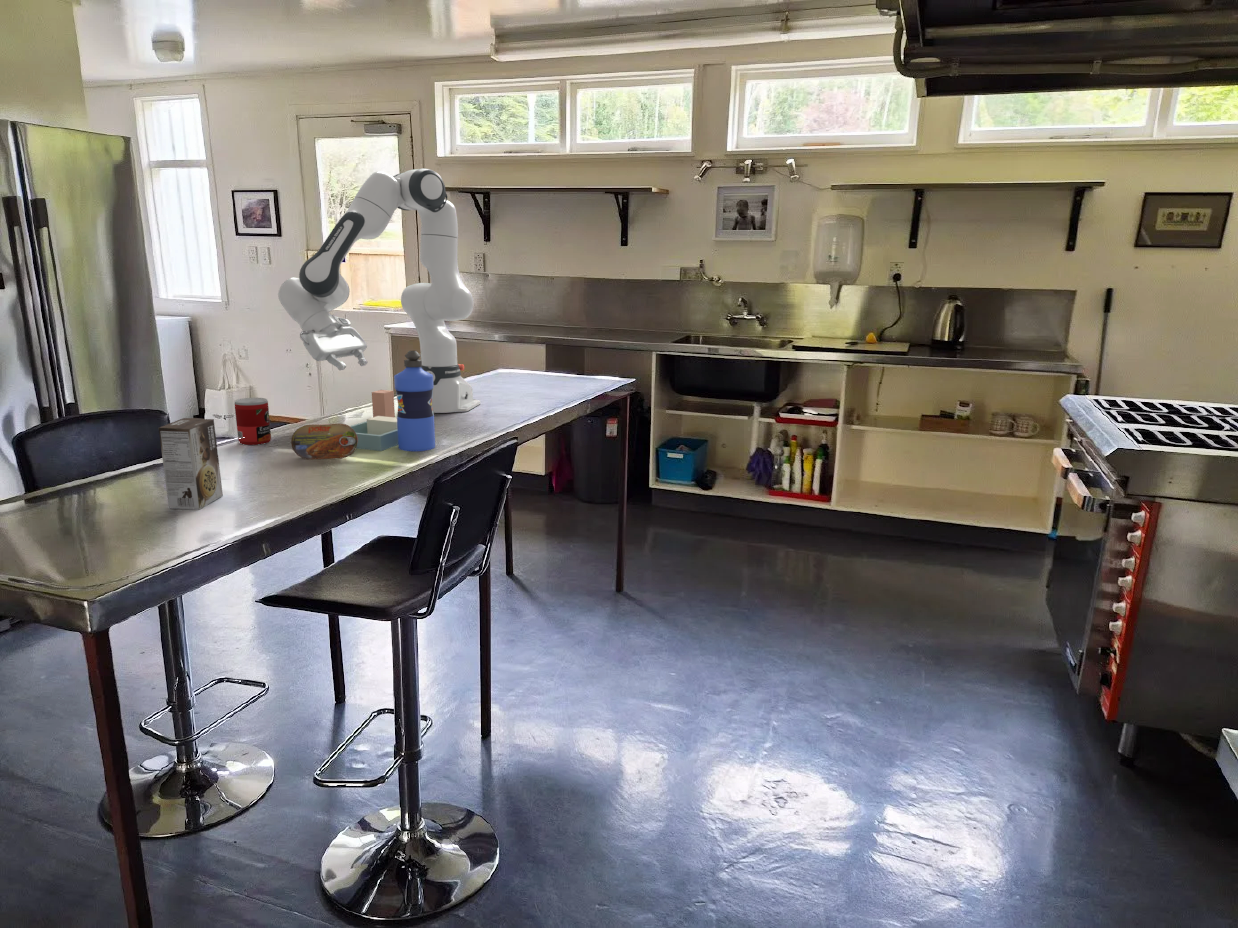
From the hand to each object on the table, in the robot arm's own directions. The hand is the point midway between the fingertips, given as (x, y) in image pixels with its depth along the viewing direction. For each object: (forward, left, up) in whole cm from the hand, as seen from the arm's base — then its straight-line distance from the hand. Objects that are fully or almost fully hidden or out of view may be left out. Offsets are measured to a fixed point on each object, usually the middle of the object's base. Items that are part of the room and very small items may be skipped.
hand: (354, 366), depth 223 cm
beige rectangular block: (+10, +17, -16) cm, 26 cm away
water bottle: (+16, +29, -17) cm, 38 cm away
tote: (+14, +17, -17) cm, 28 cm away
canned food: (+25, -13, -17) cm, 33 cm away
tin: (+31, +14, -18) cm, 38 cm away
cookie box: (+70, +14, -17) cm, 73 cm away
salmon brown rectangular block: (0, +9, -17) cm, 19 cm away
